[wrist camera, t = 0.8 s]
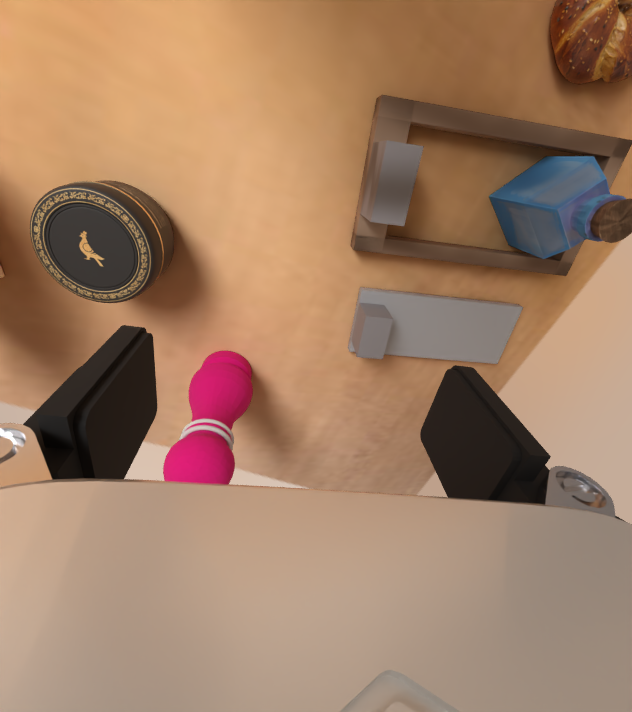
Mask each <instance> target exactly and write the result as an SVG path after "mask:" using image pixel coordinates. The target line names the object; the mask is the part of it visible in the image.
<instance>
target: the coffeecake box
mask: <svg viewBox="0 0 632 712" xmlns="http://www.w3.org/2000/svg"><path fill="white" fill-rule="evenodd" d="M3 277H5V275H4V272H3V270H2V267H1V265H0V279H1V278H3Z"/></svg>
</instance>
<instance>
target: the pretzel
mask: <svg viewBox="0 0 632 712" xmlns="http://www.w3.org/2000/svg"><path fill="white" fill-rule="evenodd" d="M550 31H551V41H552V45H553V49H554V53H555V59H556V64H557V66H558V68H559V70H560V72H561V73H562V75H563V76H564V77H565V78H566V79H567V80H568V81H570V82H572V83H575V84H582V83H587V82H591V81H595V80H597V79H599V78H601V77H602V78H603V80H604V81H605V82H607V83H613V82H618V81H621V80H624V79H627V78H628V77H630V76H632V0H557V2H556V4H555V6H554V10H553V13H552V17H551V30H550Z"/></svg>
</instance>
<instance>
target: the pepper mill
mask: <svg viewBox="0 0 632 712" xmlns="http://www.w3.org/2000/svg"><path fill="white" fill-rule="evenodd" d="M251 375H252V371H251V367H250V365H249V363H248V362H247V360H246V359H245V358H244V357H242V356H241V355H239V354H237V353H235V352H231V351H219V352H215V353H213V354H211V355H210V356H208V357H207V358H206V360H205V361H204V363H203V365H202V368H201V369H200V370H198V371H197V372H196V374H195V375H194V376H193V378H192V380H191V383H190V387H189V403H190V406H191V410H192V422H191V423H189V424H188V425H186V426H185V428H184V429H183V431H182V434H181V436H180V439H179V441H178V442H177V443H176V444H175V445H173V446H172V447H171V449H170V451H169V452H168V454H167V456H166V459H165V463H164V471H163V474H164V479H165V481H173V482H192V483H211V484H229V482H230V480H231V478H232V476H233V472H234V468H235V461H234V456H233V453H232V449H233V444H234V436H233V433H232V432H231V429H232V426H233V423H234V422H235V421H236V420H237V419H238V418H239V417H240V416H242V415H243V413H244V412H245V411H246V409H247V408H248V406H249V404H250V402H251V398H252V394H253V388H252V383H251Z"/></svg>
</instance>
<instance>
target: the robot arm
mask: <svg viewBox="0 0 632 712" xmlns="http://www.w3.org/2000/svg"><path fill="white" fill-rule="evenodd" d="M156 412H157V394H156V378H155V362H154V346H153V336H152V334H151V333H147V332H146V329H145V328H142V327H134V326H126V325H123V326H121V327H120V328H119V329H118V330H117V331H116V332H115V333H114V334H113V335H112V336H111V337H110V338H109V339H108V340H107V341H106V343H105V344H104V345H103V346H102V347H101V348H100V349H99V350H98V351H97V352H96V353H95V354H94V355H93V356H92V357H91V358H90V359H89V360H88V361H87V362H86V363H85V364H84V365H83V366H81V367H80V368H78V369H77V370H76V371H75V372H74V373H73V374H72V375H71V376H70V377H69V378H68V379H67V380H66V381H65V382H64V383H63V384H62V385H61V386H60V387H59V388H58V389H57V390H56V391H55V392H54V393H53V394H52V395H51V396H50V398H49V399H48V400H47V401H46V402H45V403H44V404H43V405H42V406H41V407H40V408H39V409H38V410H37V411H36V412H35V413H34V414H33V415H32V416H31V417H30V418H29V419H28V420H27V421H26V422H25V423H24V424H23V425H22V424H15V423H3V424H0V712H632V524H630V523H627V522H625V521H624V520H622V519H620V518H619V517H617V516H615V509H614V504H613V501H612V499H611V497H610V496H609V494H608V493H607V492H606V491H605V490H604V489H603V488H602V487H601V486H600V485H599V484H598V483H597V482H595V481H594V480H593V479H591V478H590V477H588V476H586V475H585V474H583V473H581V472H579V471H576V470H574V469H572V468H568V467H564V466H555V467H553V468H551V469H550V471H549V469H548V468H547V467H546V466H545V464H546V463H547V462H548V460H549V459H550V455H549V454H548V453H547V452H546V451H545V449H544V448H543V447H542V446H541V445H540V444H539V443H538V441H537V440H536V439H535V438H534V437H533V436H532V435H531V433H530V432H529V431H528V430H527V429H526V428H525V427H524V425H523V424H522V423H521V422H520V421H519V420H518V418H517V417H516V416H515V415H514V414H513V413H512V412H511V410H510V409H509V408H508V407H507V406H506V405H505V404H504V402H503V401H502V400H501V399H500V398H499V397H498V396H497V394H496V393H495V392H494V391H493V390H492V389H491V388H490V386H489V385H488V384H487V383H486V382H485V381H484V379H483V378H482V377H481V376H480V375H479V374H478V373H477V371H476V370H475V369H474V368H472V367H464V366H453V367H452V368H451V369H448V370H447V371H446V373H445V375H444V377H443V380H442V382H441V384H440V387H439V389H438V391H437V394H436V396H435V398H434V401H433V403H432V405H431V408H430V410H429V412H428V415H427V417H426V419H425V422H424V424H423V426H422V429H421V433H420V435H421V441H422V443H423V445H424V447H425V449H426V451H427V454H428V456H429V458H430V460H431V462H432V464H433V466H434V468H435V471H436V473H437V475H438V477H439V479H440V481H441V483H442V486H443V488H444V490H445V492H446V494H447V496H448V498H447V497H432V496H417V495H402V494H385V493H369V492H353V491H336V490H319V489H302V488H285V487H266V486H247V485H229V484H211V483H192V482H173V481H153V480H130V479H129V480H128V479H124V478H125V475H126V474H127V471H128V470H129V468H130V466H131V464H132V462H133V460H134V458H135V456H136V454H137V452H138V450H139V448H140V446H141V444H142V442H143V440H144V438H145V436H146V434H147V432H148V430H149V428H150V426H151V424H152V422H153V420H154V418H155V416H156Z"/></svg>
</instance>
